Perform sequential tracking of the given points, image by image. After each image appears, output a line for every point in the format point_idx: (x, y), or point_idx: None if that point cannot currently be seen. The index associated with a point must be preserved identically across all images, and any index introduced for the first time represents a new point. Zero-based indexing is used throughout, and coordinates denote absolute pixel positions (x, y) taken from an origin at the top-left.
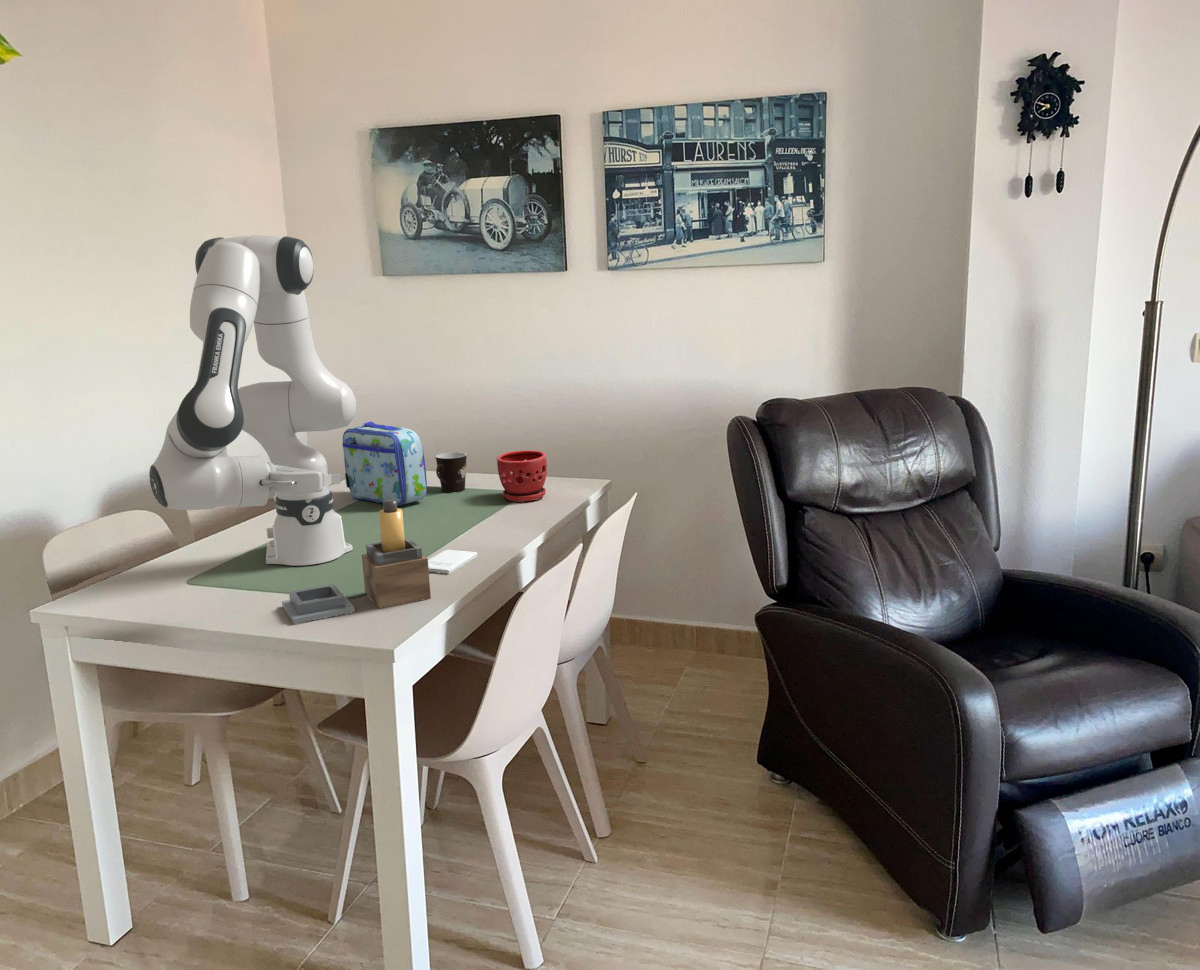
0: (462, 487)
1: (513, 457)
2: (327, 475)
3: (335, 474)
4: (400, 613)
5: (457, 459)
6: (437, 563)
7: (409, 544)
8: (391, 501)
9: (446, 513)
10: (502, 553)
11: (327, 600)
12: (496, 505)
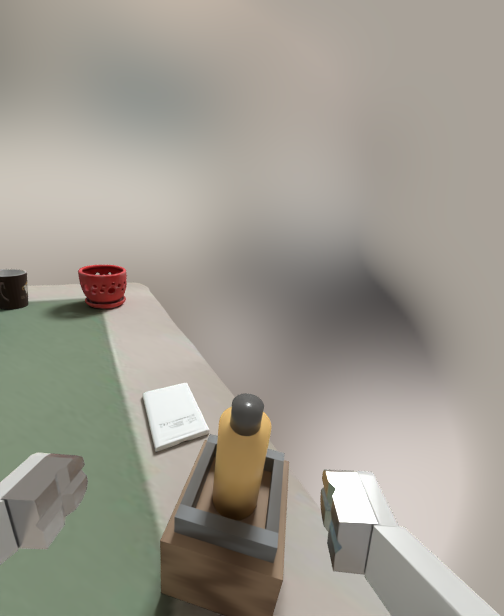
0: (27, 302)
1: (87, 271)
2: (448, 574)
3: (382, 494)
4: (319, 605)
5: (20, 276)
6: (174, 423)
7: None
8: (255, 404)
9: (49, 335)
10: (201, 372)
11: None
12: (92, 315)
